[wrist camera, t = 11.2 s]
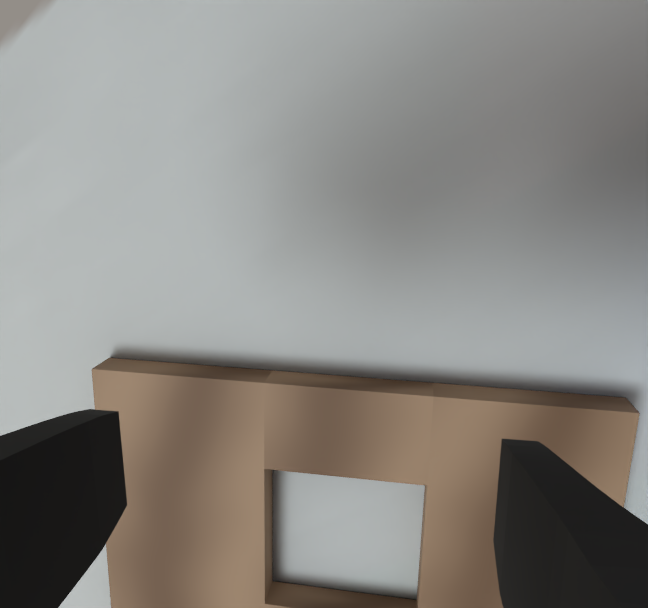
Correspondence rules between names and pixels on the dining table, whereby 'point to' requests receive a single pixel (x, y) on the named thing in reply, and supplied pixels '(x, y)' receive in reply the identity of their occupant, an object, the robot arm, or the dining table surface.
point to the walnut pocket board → (325, 459)
